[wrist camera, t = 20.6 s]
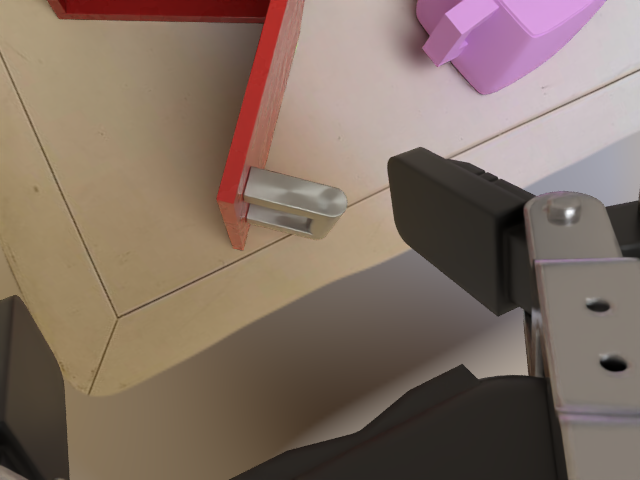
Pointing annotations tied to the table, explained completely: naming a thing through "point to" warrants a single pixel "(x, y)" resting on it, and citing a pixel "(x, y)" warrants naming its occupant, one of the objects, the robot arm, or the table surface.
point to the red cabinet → (163, 10)
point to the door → (254, 144)
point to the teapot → (500, 35)
